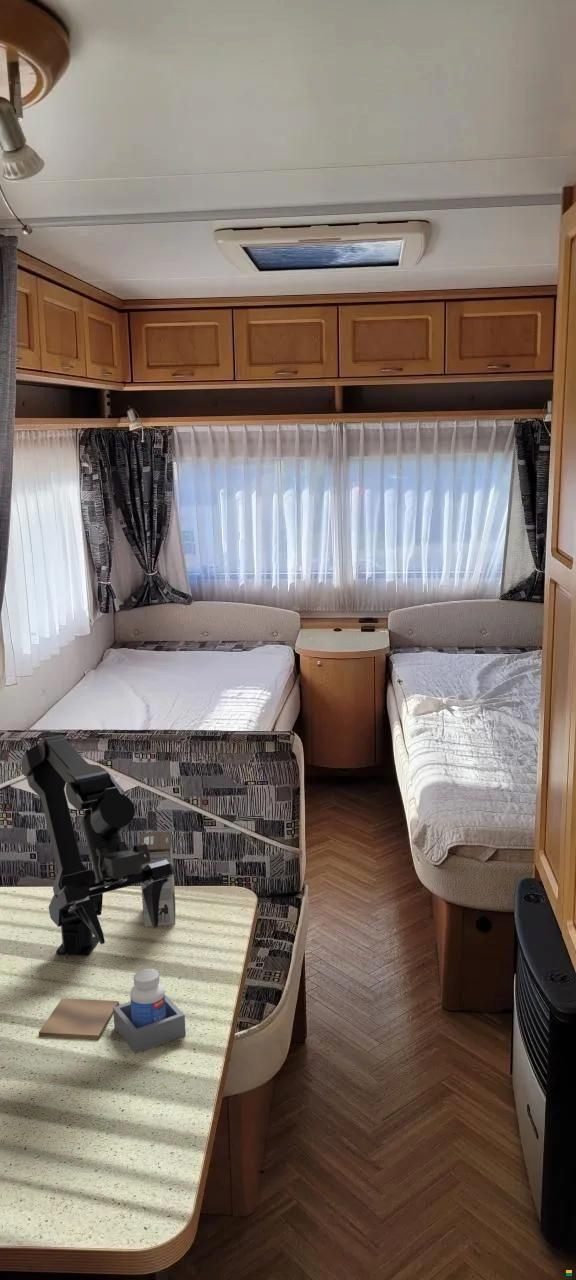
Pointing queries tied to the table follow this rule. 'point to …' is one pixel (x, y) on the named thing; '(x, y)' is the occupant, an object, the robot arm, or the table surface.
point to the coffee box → (160, 851)
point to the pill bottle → (147, 998)
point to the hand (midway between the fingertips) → (129, 935)
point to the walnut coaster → (79, 1018)
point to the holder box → (149, 1027)
